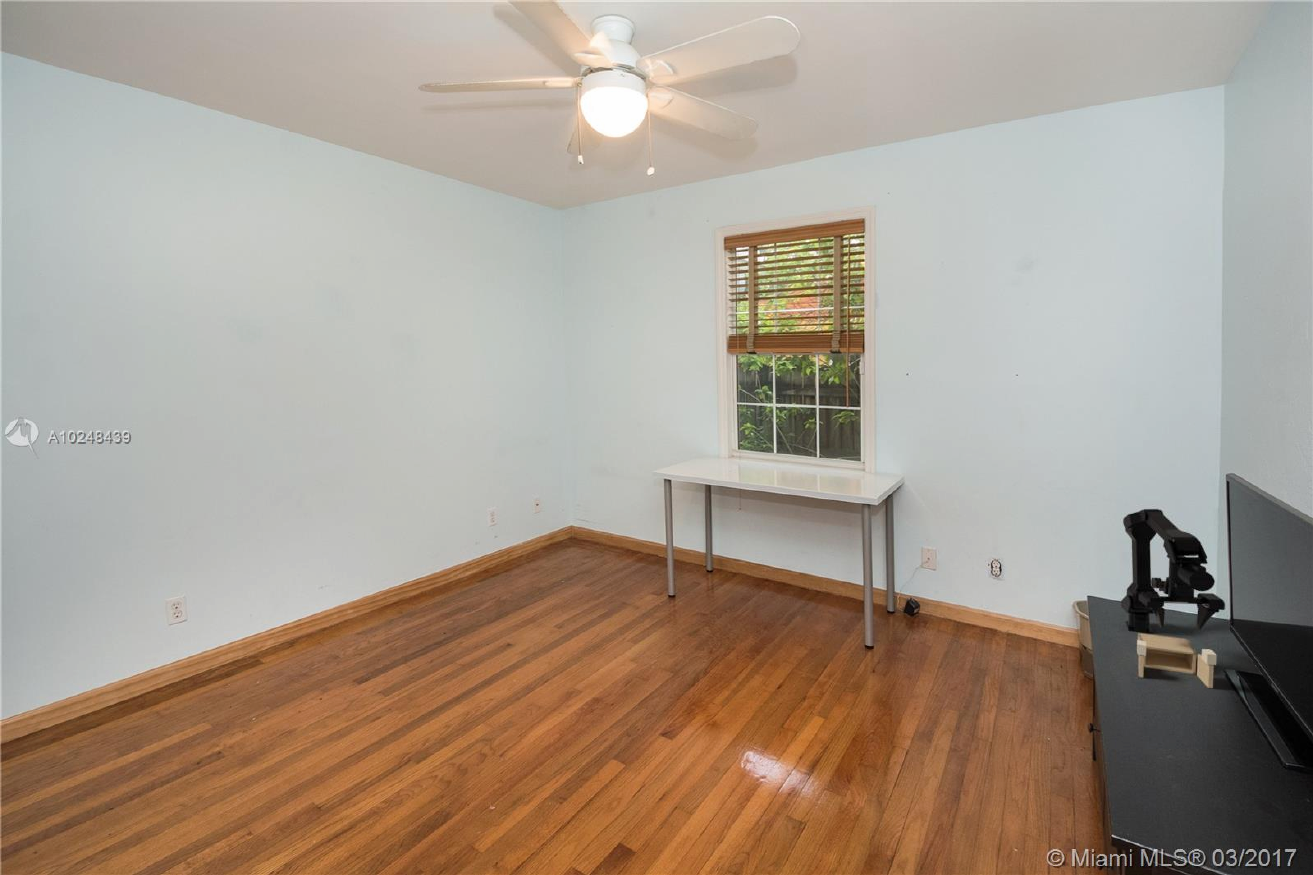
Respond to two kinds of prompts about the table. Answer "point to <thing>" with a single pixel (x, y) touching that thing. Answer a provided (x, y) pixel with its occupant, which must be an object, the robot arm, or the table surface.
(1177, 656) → the carton
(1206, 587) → the robot arm
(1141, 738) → the table surface
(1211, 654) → the flap open
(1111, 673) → the table surface
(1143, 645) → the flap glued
